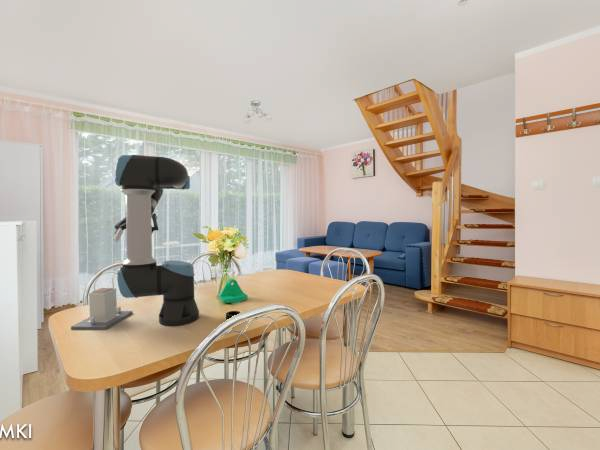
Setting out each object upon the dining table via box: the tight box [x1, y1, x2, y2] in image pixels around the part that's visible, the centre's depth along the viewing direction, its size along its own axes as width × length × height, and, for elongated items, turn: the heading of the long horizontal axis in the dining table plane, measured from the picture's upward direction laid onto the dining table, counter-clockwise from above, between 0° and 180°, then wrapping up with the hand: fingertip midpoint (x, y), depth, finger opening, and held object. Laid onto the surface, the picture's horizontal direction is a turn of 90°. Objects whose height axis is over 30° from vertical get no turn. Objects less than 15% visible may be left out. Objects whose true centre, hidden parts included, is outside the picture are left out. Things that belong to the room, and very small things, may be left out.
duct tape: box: [225, 310, 241, 321], centre depth 121 cm, size 8×10×3 cm
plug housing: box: [88, 287, 118, 321], centre depth 119 cm, size 6×7×11 cm
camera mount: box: [218, 278, 249, 305], centre depth 145 cm, size 12×8×10 cm, turn 122°
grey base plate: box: [70, 306, 133, 331], centre depth 119 cm, size 13×17×4 cm
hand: (129, 240), depth 138 cm, fingers open, 13 cm apart
